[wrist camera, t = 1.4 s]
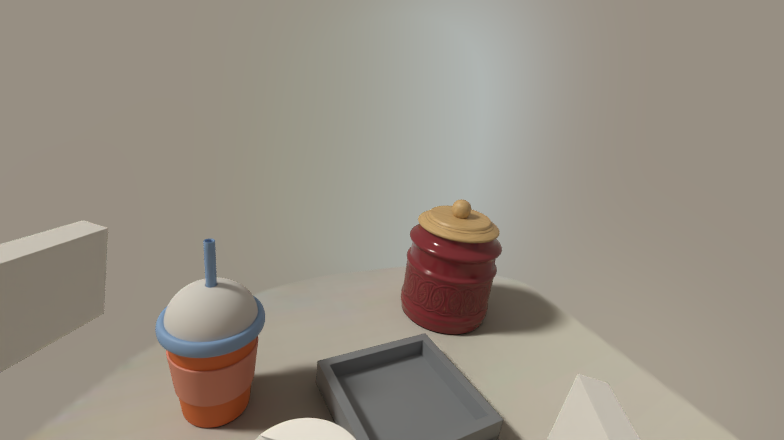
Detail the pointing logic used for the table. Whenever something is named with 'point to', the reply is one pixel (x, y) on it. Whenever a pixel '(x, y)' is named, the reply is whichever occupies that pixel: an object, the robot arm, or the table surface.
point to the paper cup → (306, 430)
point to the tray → (404, 394)
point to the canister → (450, 269)
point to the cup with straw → (211, 345)
